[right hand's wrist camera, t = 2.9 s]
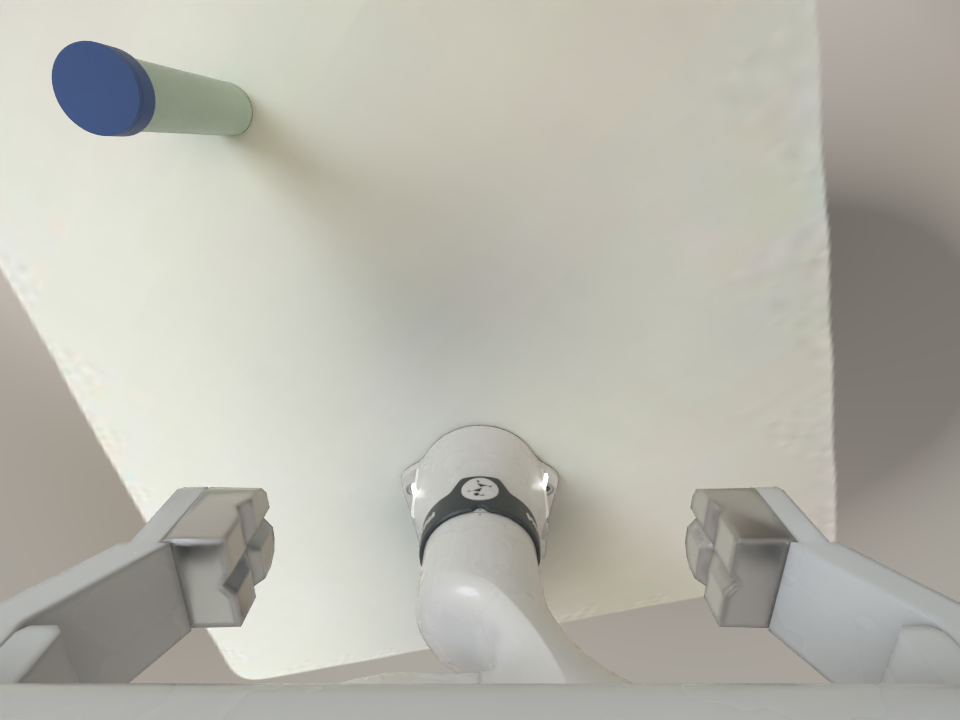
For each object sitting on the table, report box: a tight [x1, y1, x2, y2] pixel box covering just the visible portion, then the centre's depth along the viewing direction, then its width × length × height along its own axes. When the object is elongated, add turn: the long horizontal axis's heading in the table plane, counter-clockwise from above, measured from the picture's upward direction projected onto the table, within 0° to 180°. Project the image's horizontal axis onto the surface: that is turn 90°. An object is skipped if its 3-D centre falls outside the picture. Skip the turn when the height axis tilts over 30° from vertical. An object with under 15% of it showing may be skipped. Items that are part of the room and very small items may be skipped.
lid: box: [52, 41, 156, 136], centre depth 35 cm, size 5×5×2 cm
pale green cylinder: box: [136, 59, 252, 136], centre depth 43 cm, size 5×5×19 cm
